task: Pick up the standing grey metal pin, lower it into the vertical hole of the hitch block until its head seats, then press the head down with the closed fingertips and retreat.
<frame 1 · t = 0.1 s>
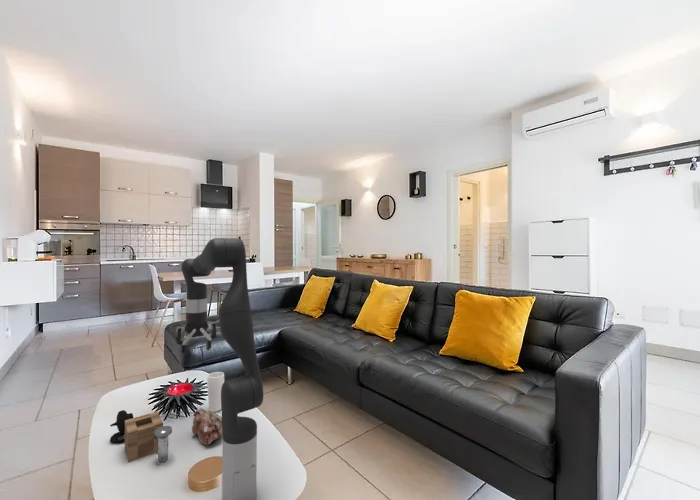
hand: (196, 351, 127), 29 cm above the table, fingers open, 8 cm apart
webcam: (122, 438, 119), on the table
hitch block: (143, 449, 113), on the table
rock: (209, 435, 122), on the table
drinking glass: (215, 409, 141), on the table
pin: (162, 460, 107), on the table
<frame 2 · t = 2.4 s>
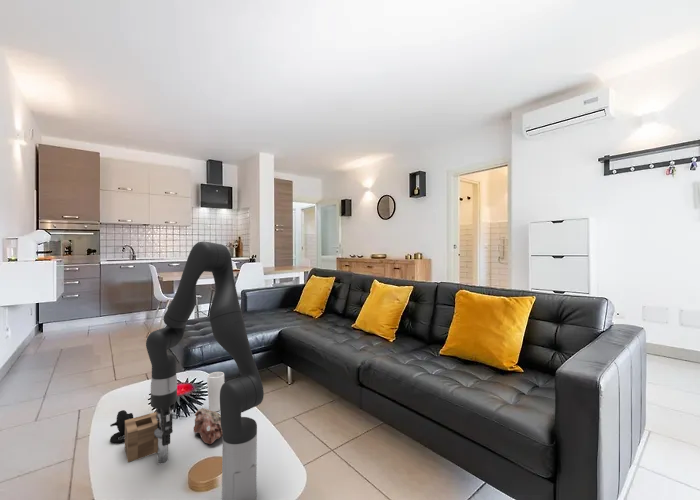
hand: (163, 438, 107), 7 cm above the table, fingers open, 8 cm apart
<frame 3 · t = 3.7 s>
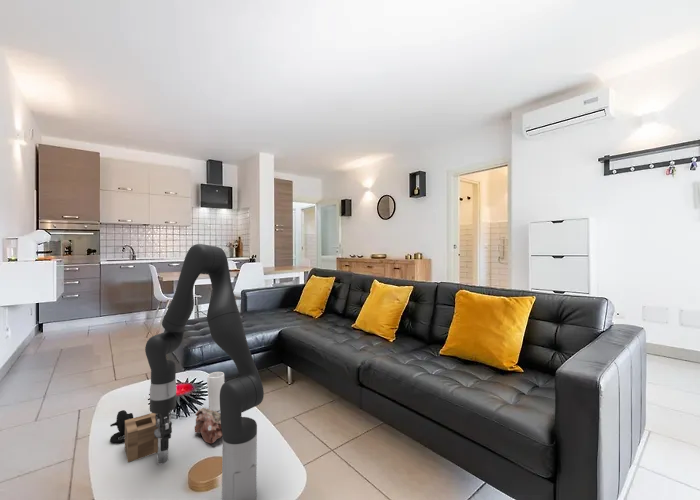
hand: (162, 445, 107), 5 cm above the table, fingers closed on pin, 4 cm apart
pin: (162, 460, 107), on the table, touching gripper
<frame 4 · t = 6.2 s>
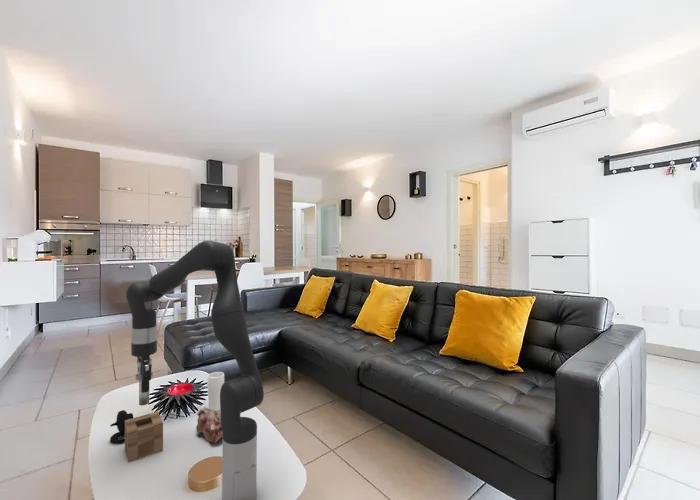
hand: (144, 388, 113), 21 cm above the table, fingers closed on pin, 4 cm apart
pin: (144, 403, 113), point 16 cm above the table, touching gripper
when the fingers open (10 cm above the table, at t = 9.1 s): pin drops 5 cm, resting on hitch block.
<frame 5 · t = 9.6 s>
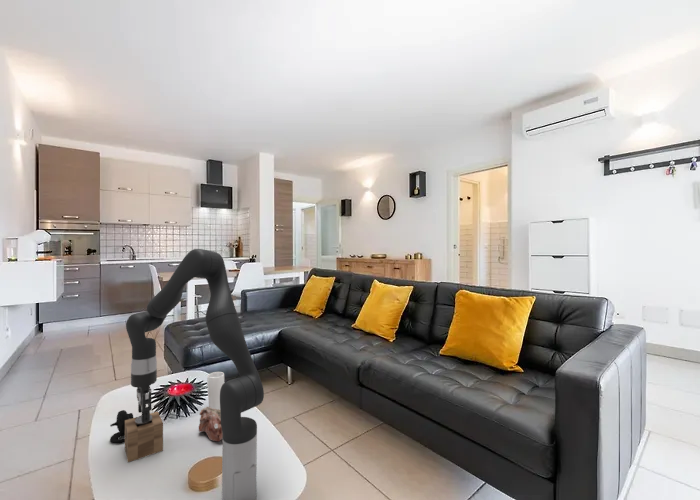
hand: (143, 416, 113), 11 cm above the table, fingers open, 8 cm apart
pin: (143, 447, 113), resting on hitch block
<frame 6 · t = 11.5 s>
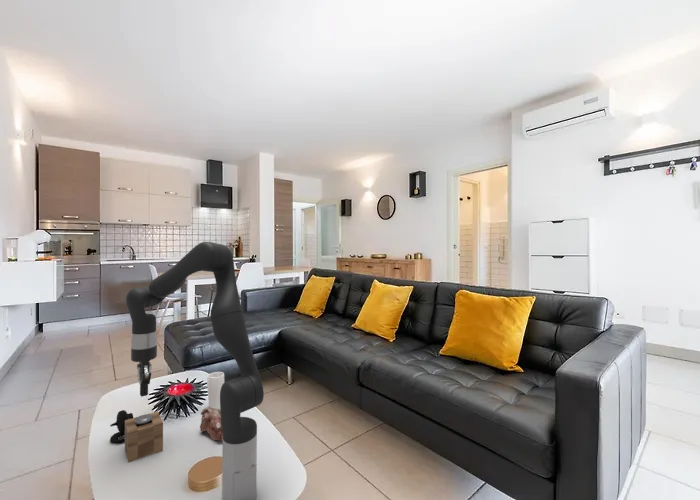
hand: (144, 395, 113), 19 cm above the table, fingers closed
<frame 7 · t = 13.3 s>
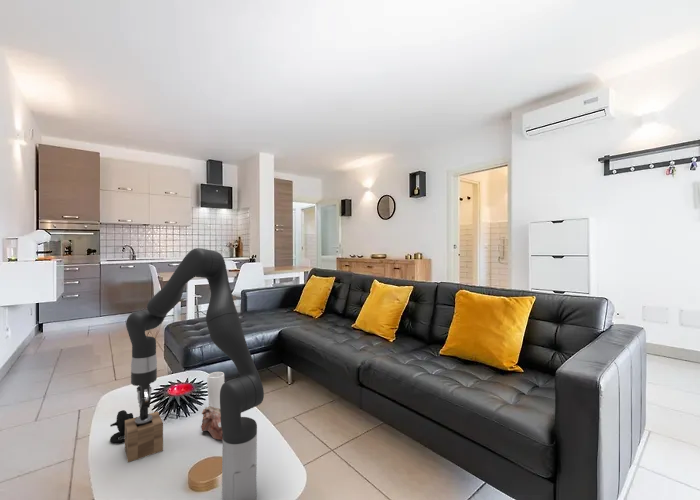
hand: (143, 418, 113), 11 cm above the table, fingers closed
pin: (143, 447, 113), resting on hitch block, touching gripper
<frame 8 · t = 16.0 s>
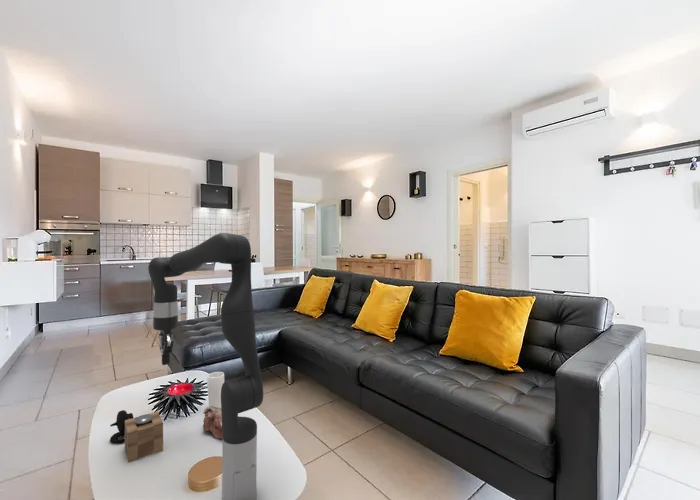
hand: (165, 364, 114), 29 cm above the table, fingers closed
pin: (143, 447, 113), resting on hitch block
at the end: pin 0.3 cm off-centre on the hitch block, point 0.5 cm above the hitch block's base; pin tilted 0°; the gripper is holding nothing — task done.
